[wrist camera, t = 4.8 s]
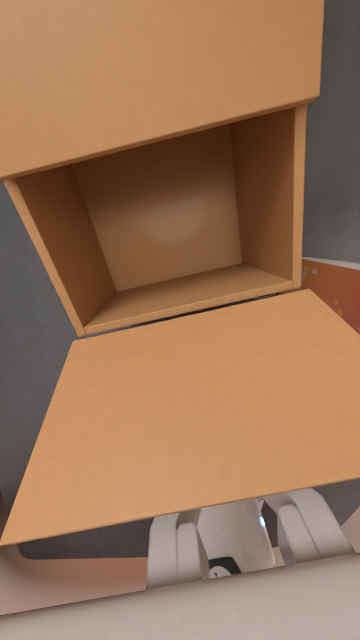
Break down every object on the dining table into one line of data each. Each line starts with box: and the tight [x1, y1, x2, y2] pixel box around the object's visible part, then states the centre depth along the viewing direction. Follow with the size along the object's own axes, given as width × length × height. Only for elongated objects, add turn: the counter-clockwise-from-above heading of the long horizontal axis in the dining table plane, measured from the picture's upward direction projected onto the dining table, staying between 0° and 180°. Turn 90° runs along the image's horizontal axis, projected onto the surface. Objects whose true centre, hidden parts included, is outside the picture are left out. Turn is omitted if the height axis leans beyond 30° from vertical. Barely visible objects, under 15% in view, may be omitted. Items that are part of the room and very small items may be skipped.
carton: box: [0, 0, 324, 337], centre depth 12 cm, size 15×13×9 cm
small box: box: [279, 257, 360, 335], centre depth 16 cm, size 8×6×10 cm
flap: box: [0, 289, 360, 545], centre depth 8 cm, size 7×13×1 cm
